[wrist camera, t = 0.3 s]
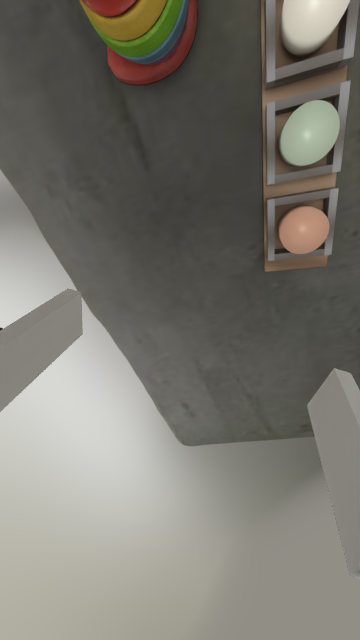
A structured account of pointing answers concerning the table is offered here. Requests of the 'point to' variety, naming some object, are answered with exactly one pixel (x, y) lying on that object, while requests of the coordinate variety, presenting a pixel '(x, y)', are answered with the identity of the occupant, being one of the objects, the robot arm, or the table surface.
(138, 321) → the table surface
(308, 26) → the ivory button
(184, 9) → the stacking bear
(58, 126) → the table surface
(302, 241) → the terracotta button
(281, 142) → the sage button
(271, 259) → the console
